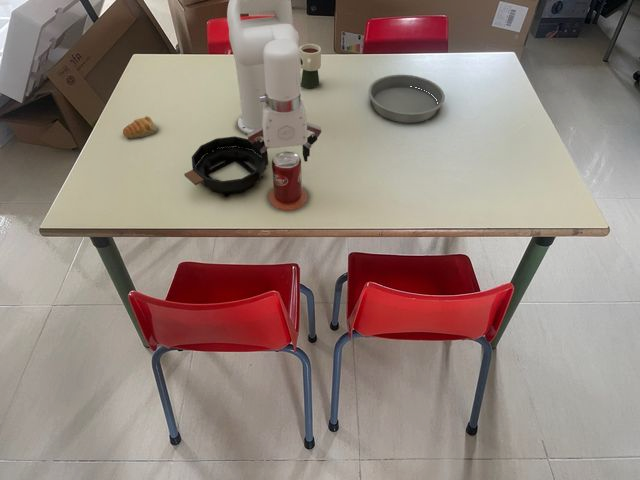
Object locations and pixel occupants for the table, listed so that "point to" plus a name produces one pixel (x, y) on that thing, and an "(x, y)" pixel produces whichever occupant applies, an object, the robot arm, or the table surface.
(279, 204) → the coaster
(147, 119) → the pastry
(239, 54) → the robot arm
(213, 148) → the wok
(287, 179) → the soda can
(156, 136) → the table surface
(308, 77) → the character mug
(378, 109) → the cake pan
